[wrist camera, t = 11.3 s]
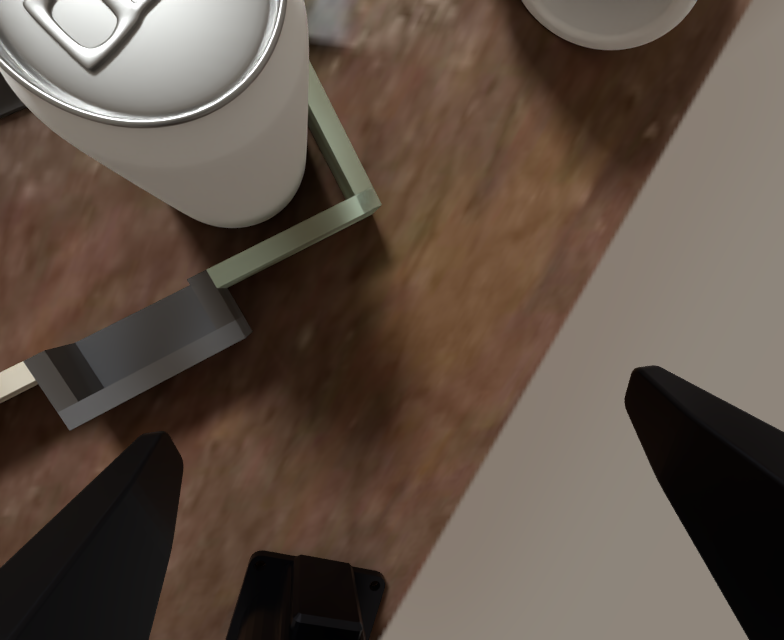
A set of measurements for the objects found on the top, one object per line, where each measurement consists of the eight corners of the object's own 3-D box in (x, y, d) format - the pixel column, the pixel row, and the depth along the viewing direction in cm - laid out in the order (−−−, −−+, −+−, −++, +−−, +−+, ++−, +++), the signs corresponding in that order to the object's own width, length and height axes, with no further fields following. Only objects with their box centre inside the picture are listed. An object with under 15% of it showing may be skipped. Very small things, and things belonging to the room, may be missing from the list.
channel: (-76, 504, 18) (-134, 537, 16) (-336, 159, 16) (-450, 137, 14) (394, 256, 21) (405, 253, 19) (231, -66, 19) (220, -117, 17)
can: (336, 160, 21) (381, -6, 9) (232, 260, 20) (133, 226, 8) (227, 43, 19) (113, -327, 8) (114, 147, 19) (-197, -79, 7)
